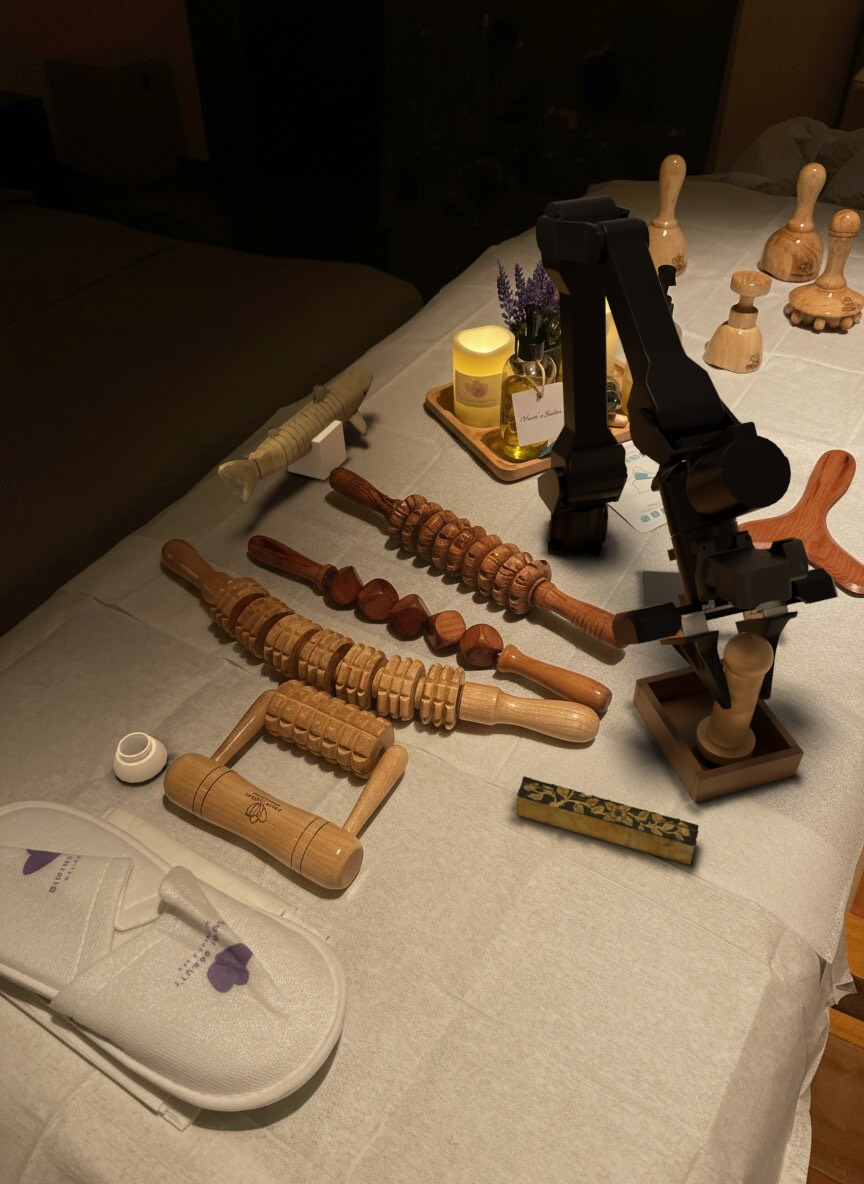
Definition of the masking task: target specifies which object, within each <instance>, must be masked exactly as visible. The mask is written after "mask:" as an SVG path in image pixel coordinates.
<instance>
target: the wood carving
mask: <svg viewBox="0 0 864 1184" xmlns="http://www.w3.org/2000/svg"><path fill="white" fill-rule="evenodd" d="M373 381H374V374H373V372H372V371H371V370H370V369H367V368H363V367H359V368H356V369H353V370H352V371H349V372H348V373H346V374H345V375H343V376H341V377H340V378H338V379H337V380H336V381H334V382H332V383H331V384H330V385H328V386H327V387H325V386H324V385H322V384H316V385H315V386H314V387H313V388H312V393H313V396H312V399H311V400H310V402H309V403H306V405H305V406H304V407H302V409H300V410H299V411H298V412H296V414H295V415H293V416H292V417H291V418H289V419H288V420H287V421H286V422H284V424H282V425H281V426H279V427H278V428H277V427H274V426H272V427H269V428H267V430H266V431H267V433H268V437H267V438H266V439H264V441H263V442H262V443H260V445H258V447H257V448H256V450H255V451H254V452H248V455H247V454H245V455H244V457H245V459H238V460H231V461H227V462H225V463H223V464H221V465H220V466H219V468H218V470H217V473H216V474H217V475H218V477H219V479H220V481H221V482H222V484H223V485H224V486H225V487H226V488H227V489H228V490H229V491H230V492H231V494H232V495H234V496H235V497H236V498H237V500H239V501H240V502H241V503H242V504H245V505H247V504H249V501H250V499H251V496H252V495H253V493H254V489H255V488H256V486H257V485H258V483H259V481H261V480H264V479H266V478H268V477H271V476H273V475H275V474H278V473H279V472H281V471H283V470H285V469H286V468H287V471H288V472H291V473H293V474H298V475H303V476H307V477H310V478H313V479H318V480H321V481H325V480H327V478H329V477H330V476H331V474H332V473H331V471H332V470H334V469H335V468H337V469H338V468H339V467H340V466H341V465H342V464H343V463H344V462H345V461H346V460H347V459H348V458H347V451H346V450H347V449H346V443H345V435H344V428H343V427H344V425H345V424H349V425H351V426H352V427H353V428H355V430H357V431H358V432H359V433H360V434H361V436H363V437H366V436H367V435H368V425H367V423H366V421H365V419H364V418H363V416H362V415H361V413H360V411H359V408H360V407H361V406H362V403H363V402H364V400H365V398H366V397H367V394H368V392H369V390H370V388H371V386H372V382H373ZM335 470H336V469H335ZM335 470H334V471H335ZM330 473H331V474H330ZM230 479H232V480H233V481H234V484H235V486H236V487H235V488H234V489H233V488H232V486H231V483H230Z"/></svg>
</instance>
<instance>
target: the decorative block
mask: <svg viewBox="0 0 864 1184" xmlns="http://www.w3.org/2000/svg"><path fill="white" fill-rule="evenodd" d="M516 816H519V817H523V818H526V819H530V820H532V821H537V822H540V823H544V824H547V825H551V826H554V827H557V828H561V829H564V830H567V831H571V832H575V833H579V834H582V835H585V836H589V837H592V838H595V839H599V840H602V841H606V842H608V843H609V842H610V843H612V844H616V845H620V846H623V847H626V848H630V849H633V850H637V851H640V852H644V853H647V854H650V855H653V856H657V857H661V858H664V859H667V860H672V861H675V862H678V863H682V864H685V865H691V862H692V860H693V857H694V853H695V850H696V848H697V843H698V840H697V838H698V835H699V833H700V832H699V826H700V825H699V824H696V823H693V822H689V821H685V820H682V819H680V817H676V818H675V817H671V816H668V815H663V814H660V813H658V812H655V811H650V810H647V809H643V808H639V807H635V806H631V805H628V804H623V803H620V802H617V801H613V800H611V799H609V798H608V799H606V798H603V797H598V796H596V795H594V794H586V793H585V792H583V791H577V790H575V789H572V788H567V787H563V786H562V785H557V784H555V783H549V782H545V781H541V780H538V779H534V778H533V777H529V776H525V775H524V776H522V779H521V783H520V787H519V788H518V791H517V794H516Z"/></svg>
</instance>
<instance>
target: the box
mask: <svg viewBox="0 0 864 1184" xmlns="http://www.w3.org/2000/svg"><path fill="white" fill-rule="evenodd" d="M720 661H721V665H722V668H723V666H724V659H723V658H720ZM714 702H715V699H714V697H713V696H712V694H711V693H710V692H709V690H708V689H707V688H706V686H705V685H704V684H703V682H702V681H701V679H700V678H699V677H698V675H697V674H696V673H695V671H694V670H693V669H692V668H691V666H690V665H689V666H686V667H682V668H677V669H674V670H669V671H665V672H662V673H658V674H654V675H649V676H646V677H641V678H638V679H636V680H635V686H634V693H633V698H632V703H633V705H634V706H635V708H636V710H637V711H638V713H639V714H640V716H641V718H642V719H643V721H644V723H645V725H646V726H647V728H648V729H649V731H650V732H651V735H652V736H653V738H654V739H655V741H656V742H657V744H658V745H659V747H660V749H661V750H662V752H663V754H664V756H665V757H666V759H667V760H668V762H669V763H670V765H671V767H672V769H673V770H674V771H675V774H676V775H677V776H678V778H679V780H680V781H681V783H682V785H683V786H684V788H685V790H686V791H687V793H688V795H689V796H690V798H691V799H692V801H693V802H694V803H698V802H702V801H705V800H709V799H713V798H716V797H720V796H725V795H727V794H731V793H735V792H739V791H741V790H747V789H750V788H752V787H753V788H754V787H757V786H760V785H764V784H767V783H771V782H775V781H778V780H782V779H785V778H791V777H793V776H796V775H797V773H798V770H799V767H800V765H801V762H802V760H803V756H804V754H805V752H804V750H803V749H802V747H801V746H800V745H799V743H798V742H797V741H796V740H795V739H794V737H793V736H792V734H791V733H790V732H789V731H788V729H787V728H786V727H785V725H784V724H783V723H782V722H781V720H780V719H779V718H778V716H777V715H776V714H775V712H774V711H773V710H772V708H771V707H770V706H769V704H768V703H767V702H766V700H762V699H760V697H759V696H758V700H757V703H756V706H755V710H754V713H753V716H752V720H751V723H750V726H749V727H750V728H751V729H752V731H753V733H754V735H755V746H754V750H753V753H752V755H751V757H750V758H749V759H748V760H745V761H741V762H737V763H733V764H730V765H726V766H724V765H719V764H716V763H714V762H712V761H710V760H708V759H707V758H705V757H704V756H703V755H702V754H701V753H700V752H699V750H698V748H697V746H696V743H695V735H696V731H697V727H698V725H699V723H700V722H701V721H702V720H703V719H704V718H706V717H708V716H711V713H712V709H713V705H714Z"/></svg>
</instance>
